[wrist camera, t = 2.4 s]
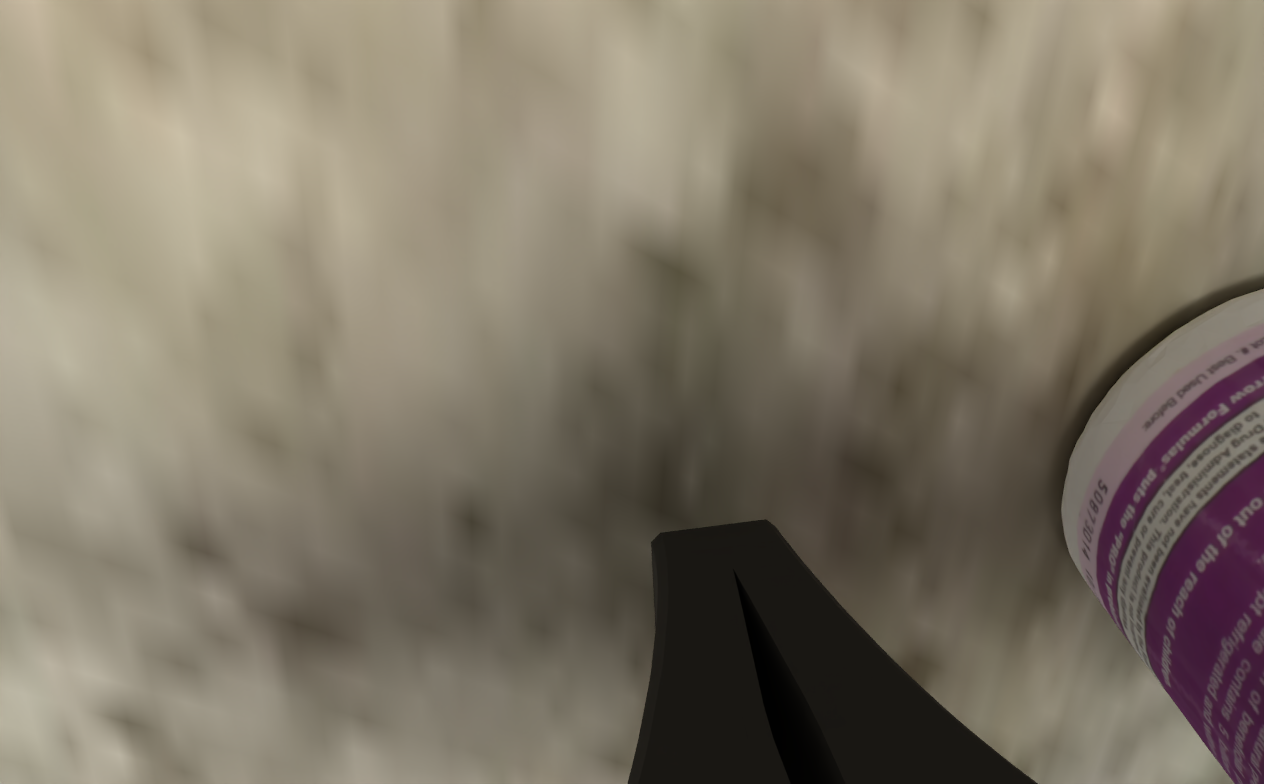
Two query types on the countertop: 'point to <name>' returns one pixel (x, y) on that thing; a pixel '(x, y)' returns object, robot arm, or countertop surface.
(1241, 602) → the pill bottle
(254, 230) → the countertop surface
